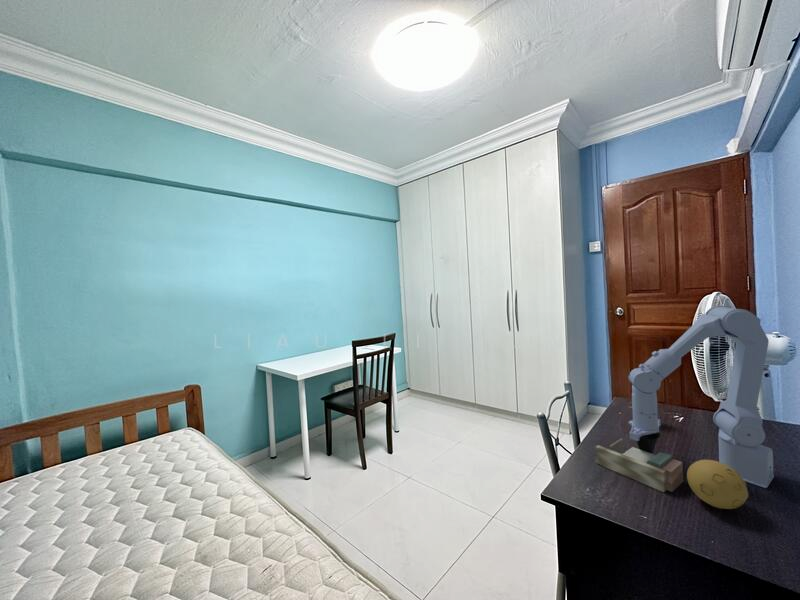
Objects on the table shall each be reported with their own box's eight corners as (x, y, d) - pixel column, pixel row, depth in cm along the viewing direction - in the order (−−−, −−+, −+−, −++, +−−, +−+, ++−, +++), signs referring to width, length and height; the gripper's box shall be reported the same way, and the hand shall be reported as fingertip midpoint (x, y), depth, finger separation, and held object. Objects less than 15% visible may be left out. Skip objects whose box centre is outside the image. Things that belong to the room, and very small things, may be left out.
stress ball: (683, 494, 78) (678, 484, 72) (696, 458, 80) (692, 445, 74) (741, 523, 70) (741, 515, 64) (753, 482, 72) (754, 470, 66)
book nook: (683, 481, 81) (682, 459, 80) (669, 494, 76) (668, 471, 76) (607, 452, 96) (606, 433, 96) (592, 461, 92) (591, 442, 92)
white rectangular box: (658, 467, 87) (657, 455, 87) (645, 478, 83) (644, 466, 83) (633, 458, 92) (632, 446, 92) (619, 468, 88) (619, 456, 88)
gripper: (640, 400, 97) (641, 443, 97) (616, 413, 89) (618, 459, 90) (668, 407, 91) (670, 452, 91) (646, 421, 83) (647, 470, 84)
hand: (646, 456), depth 90 cm, fingers closed
